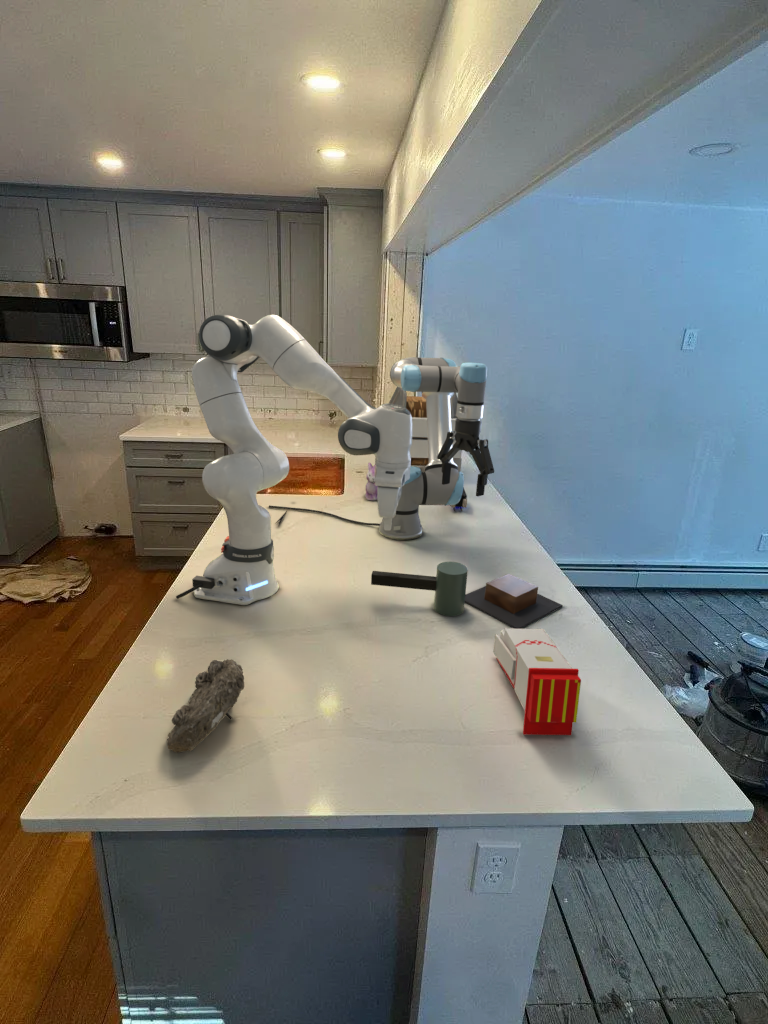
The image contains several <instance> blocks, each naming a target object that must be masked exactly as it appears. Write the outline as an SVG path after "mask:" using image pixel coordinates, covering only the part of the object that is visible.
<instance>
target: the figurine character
mask: <svg viewBox="0 0 768 1024" xmlns="http://www.w3.org/2000/svg"><path fill="white" fill-rule="evenodd" d="M467 495H468V494H467V493H466V490H465V487H463V493H462V496H461V499H460V501H459V502H458V503H457V504H455V505H449V506H450V507H451V508H452V510H453V512H456V510H458V509H459V510H460V512H463V509H464V508H465V509H466V508H467V506H468V499H467V497H468V496H467Z"/></svg>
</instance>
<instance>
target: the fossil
mask: <svg viewBox="0 0 768 1024" xmlns="http://www.w3.org/2000/svg"><path fill="white" fill-rule="evenodd" d="M243 670H244V669H243V667H242V665H240V664H237V662H236V661H235V660H234V659H232V658H231V659H227V658H226V659H224V660H223V661H222V660H217V659H212V660H211V661H210V663H209V665H208V666H207V671H201V672H199V673H198V674H197V675H196V676H195V680H194V684H195V685H194V687H195V689H194V690H193V693H192V694H191V697H190V698H189V700H188V704H184V705H182V706H181V707H180V709H177V710H176V711H175V713H174V715H173V716H172V718H171V723H172V724H173V727H172V730H171V731H170V732H168V734H167V738H166V741H167V742H166V745H167V749H168V750H169V751H173V752H174V753H176V754H178V753H182V752H188V751H189V752H192V751H193V750H195V748H196V747H197V746H199V744H200V743H201V742H203V741H204V740H205V739H206V738H207V737H208V736H209V735H210V734H211V733H212V732H214V730H215V729H217V727H218V726H219V724H220V722H221V721H222V720H223V719H224V718H225V716H226V717H227V719H229V720H233V717H232V715H230V714H229V710H230V709H231V708H234V706H235V704H236V703H237V702H238V699H239V697H240V695H241V693H242V691H243V690H245V689H244V688H245V675H244V671H243Z"/></svg>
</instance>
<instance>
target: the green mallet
mask: <svg viewBox="0 0 768 1024" xmlns="http://www.w3.org/2000/svg"><path fill="white" fill-rule="evenodd" d="M468 572H469V569H468V567H467V565H466V564H463V563H461V562H457V561H442V562H440V563H438V564H437V565H436V575H435V576H433V575H432V576H431V575H423V574H411V573H401V572H390V571H381V570H380V571H379V570H372V572H371V575H370V576H371V577H370V579H371V580H370V585H371V586H383V587H392V588H401V589H413V590H422V591H423V590H424V591H433V592H434V597H433V598H434V599H433V609H434V611H435V612H436V613H437V614H439V615H442V616H445V617H457V616H460V615H462V614H463V613H464V611H465V604H466V603H465V595H466V594H467V582H468Z"/></svg>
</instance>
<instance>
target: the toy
mask: <svg viewBox="0 0 768 1024" xmlns="http://www.w3.org/2000/svg"><path fill="white" fill-rule="evenodd" d="M499 632H500V633H499V634H496V633H495V635H494V641H493V649H492V653H493V654H494V655H495V657H496V658H495V659H496V660H497V662H498V663H499V665H500V668H501V670H502V671H503V672H504V674H505V676H506V678H507V680H508V681H509V683H510V685H511V686H512V688H513V689H514V693H515V694H516V696H517V698H518V701H519V702H520V704H521V706H522V708H523V711H524V719H523V728H522V734H523V735H524V736H525V735H527V736H572V733H573V725H574V723H577V718H578V711H579V702H580V694H581V693H580V692H581V686H582V685H581V684H582V679H581V677H580V676H579V671H580V670H579V669H578V668H573V667H572V665H571V664H570V663H569V662H568V660H567V659H566V657H565V656H564V654H562V652H561V650H560V649H559V648H558V646H557V645H556V644H555V643H554V641H553V640H552V639H551V637H550V636H549V634H548V633H547V631H546V630H545V629H544V628H521V629H515V628H512V627H509V628H508V627H507V628H506V627H505V628H504V629H501V630H500V631H499Z"/></svg>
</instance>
